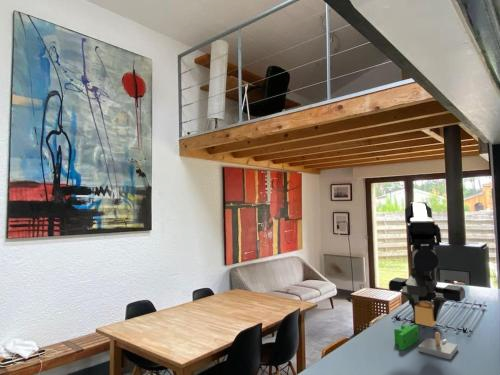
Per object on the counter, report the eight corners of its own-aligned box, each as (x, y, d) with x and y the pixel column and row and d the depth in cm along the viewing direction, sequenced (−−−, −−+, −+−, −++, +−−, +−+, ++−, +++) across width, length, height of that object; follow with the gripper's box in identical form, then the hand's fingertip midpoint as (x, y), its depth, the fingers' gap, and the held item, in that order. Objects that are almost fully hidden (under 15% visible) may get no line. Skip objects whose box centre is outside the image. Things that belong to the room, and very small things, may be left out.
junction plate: (428, 341, 104) (427, 325, 104) (458, 349, 99) (457, 331, 99) (418, 351, 98) (417, 333, 98) (450, 359, 92) (449, 340, 93)
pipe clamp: (406, 337, 109) (406, 322, 109) (418, 340, 106) (418, 325, 106) (390, 347, 101) (389, 331, 102) (402, 351, 99) (402, 334, 99)
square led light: (420, 318, 100) (420, 298, 100) (437, 322, 97) (436, 301, 97) (415, 323, 97) (414, 302, 97) (432, 326, 94) (431, 305, 94)
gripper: (379, 264, 98) (381, 319, 98) (452, 273, 85) (455, 336, 85) (395, 258, 106) (397, 309, 106) (464, 266, 93) (467, 323, 93)
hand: (426, 319), depth 97 cm, fingers closed on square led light, 4 cm apart
